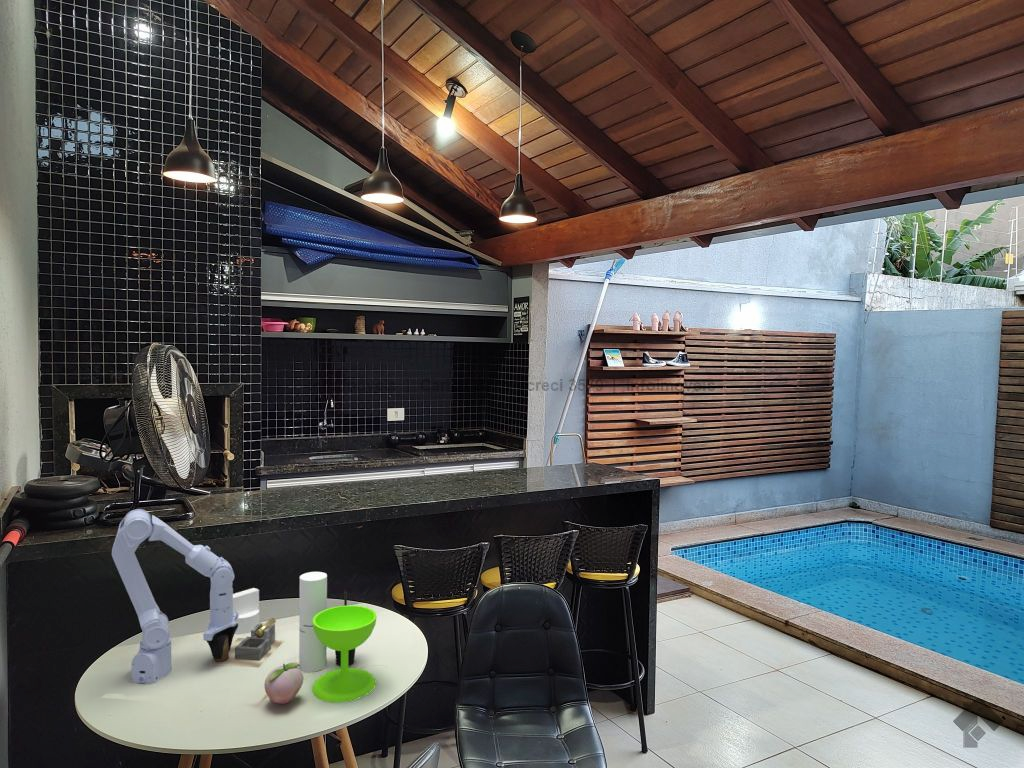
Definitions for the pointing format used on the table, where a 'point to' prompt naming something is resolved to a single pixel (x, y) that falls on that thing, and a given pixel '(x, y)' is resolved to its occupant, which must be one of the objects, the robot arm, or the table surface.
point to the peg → (224, 652)
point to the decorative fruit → (284, 683)
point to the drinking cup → (350, 652)
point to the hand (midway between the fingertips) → (221, 654)
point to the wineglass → (344, 651)
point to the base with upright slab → (246, 610)
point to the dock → (252, 648)
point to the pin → (265, 627)
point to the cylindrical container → (311, 621)
